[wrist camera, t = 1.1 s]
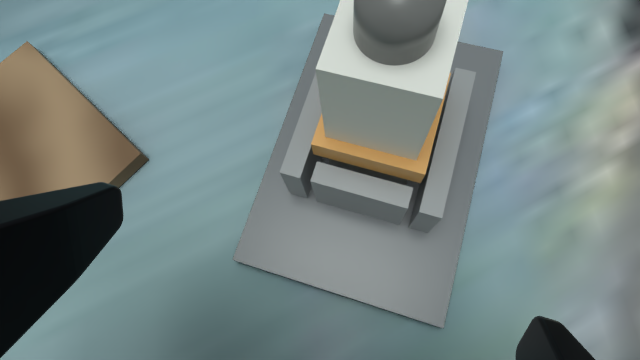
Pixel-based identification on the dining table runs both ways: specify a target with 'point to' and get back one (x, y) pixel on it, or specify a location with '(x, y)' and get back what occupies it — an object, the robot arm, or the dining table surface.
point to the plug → (385, 84)
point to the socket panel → (373, 202)
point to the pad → (54, 132)
